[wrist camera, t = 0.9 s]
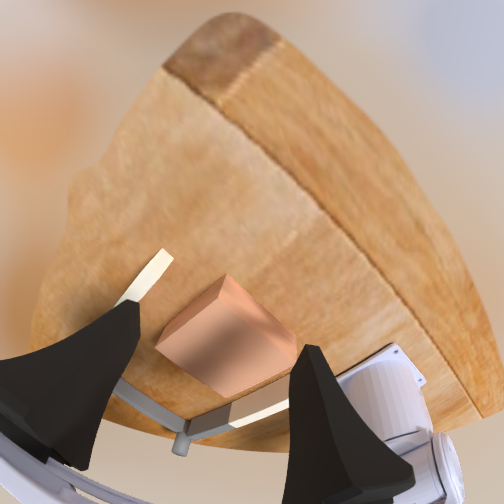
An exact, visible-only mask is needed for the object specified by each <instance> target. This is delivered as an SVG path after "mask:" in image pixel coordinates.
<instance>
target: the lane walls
mask: <svg viewBox="0 0 504 504" xmlns="http://www.w3.org/2000/svg"><path fill="white" fill-rule="evenodd" d="M173 259H174V258H172V257H171V256H170V255H169V254H168V253H167V252H166V251H165V250H164V249H163V248H162V249H161V250H160V251H159V252H158V253H157V254H156V256H155V257H154V258H153V259H152V260H151V261H150V262H149V263H148V264H147V266H146V267H145V268H144V269H143V270H142V272H141V273H140V274H139V275H138V276H137V278H136V279H135V280H134V281H133V283H132V284H131V285H130V286H129V288H128V289H127V290H126V292H125V293H124V294H123V295H122V297H121V298H120V299H119V301H118V302H117V303H116V305H115V306H114V307H116V306H117V305H118V304H120V303H121V302H123V301H124V300H126V299H129V300H132V301H135V302H138V301H139V300H140V299H141V298H142V297H143V296H144V295H145V294H146V292H147V291H148V290H149V289H150V288H151V287H152V286H153V285H154V283H155V282H156V281H157V280H158V279H159V278H160V276H161V275H162V274H163V272H164V271H165V270H166V268H167V267H168V266H169V265H170V263H171V262H172V261H173ZM114 307H113V308H114ZM113 308H112V309H113ZM289 380H290V374H288V375H286V376H284V377H282V378H280V379H279V380H277V381H275V382H273V383H271V384H269V385H267V386H265V387H263V388H261V389H259V390H257V391H255V392H253V393H251V394H249V395H246V396H244V397H242V398H240V399H238V400H236V401H234V402H232V405H231V411H230V416H229V421H228V424H230V425H232V426H233V427H235V428H238V427H241V426H243V425H246V424H249V423H252V422H254V421H257V420H260V419H262V418H265V417H267V416H270V415H272V414H274V413H277V412H279V411H282V410H284V409H286V408H288V407H289V395H288V393H289Z"/></svg>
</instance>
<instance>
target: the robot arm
mask: <svg viewBox="0 0 504 504" xmlns="http://www.w3.org/2000/svg"><path fill="white" fill-rule="evenodd" d="M139 338H140V308H139V303H138V302H135V301H132V300H129V299H126V300H124V301H123V302H121V303H120V304H118V305H117V306H116V307H114V308H113V309H111V310H110V311H108V312H107V313H106V314H104V315H103V316H101V317H100V318H98V319H97V320H95V321H94V322H92V323H91V324H89V325H88V326H86V327H84V328H83V329H81V330H79V331H78V332H76V333H74V334H73V335H71V336H69V337H67V338H65V339H63V340H61V341H59V342H57V343H55V344H53V345H51V346H48V347H46V348H43V349H40V350H38V351H35V352H32V353H29V354H26V355H23V356H19V357H15V358H11V359H6V360H0V485H2V486H3V487H4V488H5V489H6V490H7V491H8V492H9V493H10V494H11V495H13V496H14V497H15V498H16V499H17V500H18V501H20V502H21V503H22V504H98V503H96V502H94V501H92V500H90V499H88V498H86V497H84V496H82V495H80V494H78V493H77V492H76V489H75V488H74V487H76V488H78V489H80V490H82V491H84V492H86V493H88V494H90V495H92V496H94V497H96V498H98V499H101V500H103V501H105V502H108V503H110V504H152V503H149V502H146V501H143V500H140V499H137V498H134V497H131V496H129V495H126V494H124V493H121V492H118V491H116V490H114V489H111V488H109V487H107V486H104V485H102V484H100V483H98V482H95V481H93V480H91V479H89V478H87V477H85V476H83V475H81V474H79V473H77V472H75V471H73V470H72V469H70V468H68V467H66V466H64V464H66V465H68V466H69V467H74V468H76V469H78V470H80V471H85V470H87V469H88V467H89V462H90V458H91V453H92V448H93V445H94V441H95V438H96V434H97V431H98V428H99V425H100V422H101V419H102V416H103V413H104V411H105V408H106V405H107V403H108V400H109V398H110V396H111V394H112V392H113V390H114V388H115V386H116V384H117V382H118V381H119V379H120V377H121V375H122V373H123V372H124V370H125V368H126V366H127V364H128V363H129V361H130V359H131V357H132V355H133V353H134V351H135V348H136V346H137V343H138V341H139ZM395 350H396V351H395ZM425 383H426V379H425V378H424V376H423V375H422V374H421V373H420V371H419V370H418V369H417V368H416V366H415V365H414V364H413V363H412V362H411V360H410V359H409V358H408V357H407V355H406V354H405V353H404V352H403V351H402V349H401V348H400V347H399V346H398V345H397V344H396V343H393V344H390V345H389V346H387V347H386V348H384V349H383V350H381V351H380V352H378V353H377V354H375V355H374V356H372V357H370V358H369V359H367V360H366V361H364V362H362V363H361V364H359V365H357V366H356V367H354V368H352V369H351V370H349V371H347V372H345V373H344V374H342V375H340V376H338V377H336V378H335V376H334V374H333V372H332V371H331V369H330V367H329V365H328V363H327V361H326V359H325V357H324V355H323V353H322V351H321V349H320V347H319V346H314V345H309V344H305V346H304V348H303V350H302V352H301V354H300V356H299V357H298V359H297V361H296V363H295V365H294V367H293V369H292V370H291V372H290V380H289V393H288V395H289V419H290V450H289V461H288V470H287V477H286V483H285V489H284V495H283V499H282V504H463V502H464V500H465V489H464V485H463V478H462V472H461V467H460V463H459V460H458V457H457V453H456V451H455V448H454V446H453V443H452V441H451V440H450V437H449V436H448V435H447V434H442V433H441V432H438V433H437V434H435V435H434V434H433V425H432V422H431V419H430V415H429V412H428V409H427V407H426V404H425V401H424V398H423V395H422V392H421V390H420V387H421V386H423V385H424V384H425Z"/></svg>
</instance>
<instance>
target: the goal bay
mask: <svg viewBox="0 0 504 504" xmlns="http://www.w3.org/2000/svg"><path fill="white" fill-rule="evenodd" d="M112 393H114V394H115V395H117V396H118V397H119V398H121V399H122V400H124V401H125V402H127V403H128V404H130V405H131V406H133V407H134V408H136V409H137V410H139V411H140V412H142V413H143V414H145V415H147V416H148V417H150V418H151V419H153V420H155V421H156V422H158V423H160V424H161V425H163V426H165V427H167V428H168V429H170V430H172V431H174V432H176V433H177V435H176V438H175V442H174V445H173V448H172V452H173V453H174V454H176V455H179V456H187V453H188V449H189V446H190V442H191V440H193V441H196V440H200V439H203V438H207V437H210V436H213V435H217V434H220V433H223V432H226V431H229V430H232V429H235V427H233V426H232V425H230V424H228V421H229V416H230V411H231V405H232V402H231V403H229V404H227V405H224V406H222V407H220V408H218V409H215V410H213V411H210V412H208V413H206V414H203V415H201V416H198V417H195V418H193V419H192V420H191V421H188V420H185V419H183V418H181V417H179V416H178V415H176V414H174V413H173V412H171V411H169V410H168V409H166V408H165V407H163V406H161V405H160V404H158V403H157V402H155V401H154V400H152V399H150V398H149V397H147V396H146V395H144V394H143V393H142V392H140V391H139V390H137V389H136V388H134V387H133V386H132V385H130V384H129V383H127V382H126V381H125V380H123V379H122V378H121V377H120V379H119V381H118V382H117V384H116V386H115V388H114V390H113V392H112Z"/></svg>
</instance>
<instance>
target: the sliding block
mask: <svg viewBox="0 0 504 504" xmlns="http://www.w3.org/2000/svg"><path fill="white" fill-rule="evenodd" d="M155 349H157V350H158V351H159V352H160V353H162V354H163V355H164V356H166V357H167V358H168V359H170V360H171V361H172V362H174V363H175V364H176V365H178V366H179V367H180V368H182V369H183V370H185V371H186V372H187V373H189V374H190V375H192V376H193V377H195V378H196V379H198V380H199V381H200V382H202V383H203V384H205V385H206V386H208V387H209V388H211V389H212V390H214V391H216V392H217V393H219V394H220V395H222V396H223V397H225V398H228V397H230V396H232V395H234V394H237V393H239V392H241V391H243V390H245V389H247V388H250V387H252V386H254V385H256V384H258V383H260V382H262V381H264V380H266V379H268V378H270V377H272V376H274V375H276V374H278V373H280V372H282V371H283V370H285V369H287V368H289V367H291V366H293V365H295V363H296V361H297V353H296V335H294V334H293V333H292V332H291V331H290V330H289V329H288V328H286V327H285V326H284V325H283V324H282V323H281V322H280V321H278V320H277V319H276V318H275V317H274V316H273V315H272V314H271V313H269V312H268V311H267V310H266V309H265V308H264V307H263V306H262V305H261V304H259V303H258V302H257V301H256V300H255V299H254V298H253V297H252V296H251V295H249V294H248V293H247V292H246V291H245V290H244V289H243V288H242V287H241V286H240V285H238V284H237V283H236V282H235V281H234V280H233V279H232V278H231V277H230V276H229V275H228V274H226V275H224V276H223V277H222V278H221V279H220V280H219V281H217V282H216V283H215V284H214V285H213V286H211V287H210V288H209V289H208V290H207V291H205V292H204V293H203V294H202V295H201V296H200V297H198V298H197V299H196V300H195V301H194V302H192V303H191V304H190V305H189V306H188V307H187V308H185V309H184V310H183V311H182V312H181V313H179V314H178V315H177V316H176V317H175V318H174V319H172V320H171V321H170V322H169V323H168V324H167V325H166V327H165V329H164V331H163V333H162V334H161V336H160V338H159V340H158V342H157V344H156V346H155Z"/></svg>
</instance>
